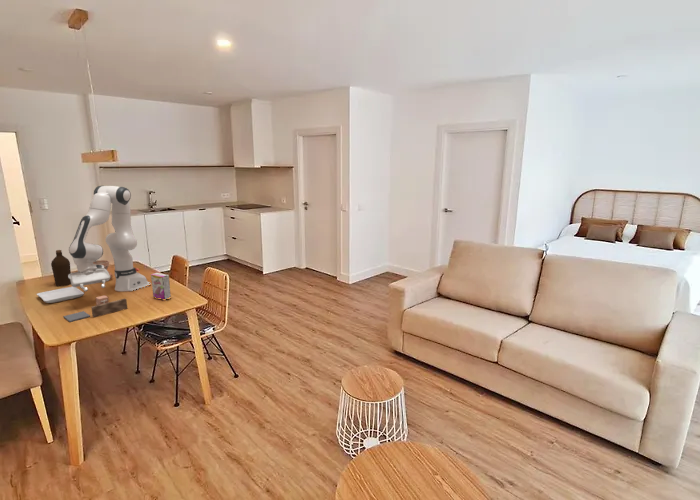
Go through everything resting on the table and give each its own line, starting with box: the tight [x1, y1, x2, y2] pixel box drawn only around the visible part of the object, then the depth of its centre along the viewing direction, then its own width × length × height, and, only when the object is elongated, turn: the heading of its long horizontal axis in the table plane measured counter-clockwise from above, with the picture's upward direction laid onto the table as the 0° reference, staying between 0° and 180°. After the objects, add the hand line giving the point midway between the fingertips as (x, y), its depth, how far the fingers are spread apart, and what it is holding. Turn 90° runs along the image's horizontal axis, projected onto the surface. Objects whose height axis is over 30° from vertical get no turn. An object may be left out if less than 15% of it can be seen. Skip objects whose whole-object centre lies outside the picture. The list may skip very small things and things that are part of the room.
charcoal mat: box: [63, 310, 91, 323], centre depth 219 cm, size 10×10×1 cm
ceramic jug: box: [93, 259, 113, 280], centre depth 284 cm, size 18×14×14 cm
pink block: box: [95, 294, 110, 306], centre depth 230 cm, size 5×5×8 cm
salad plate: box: [36, 286, 85, 304], centre depth 249 cm, size 21×21×3 cm
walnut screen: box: [91, 298, 128, 318], centre depth 226 cm, size 18×2×6 cm, turn 142°
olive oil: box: [50, 249, 72, 287], centre depth 271 cm, size 11×11×25 cm
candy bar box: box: [150, 272, 172, 299], centre depth 250 cm, size 11×5×16 cm, turn 65°
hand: (95, 289), depth 232 cm, fingers open, 8 cm apart
